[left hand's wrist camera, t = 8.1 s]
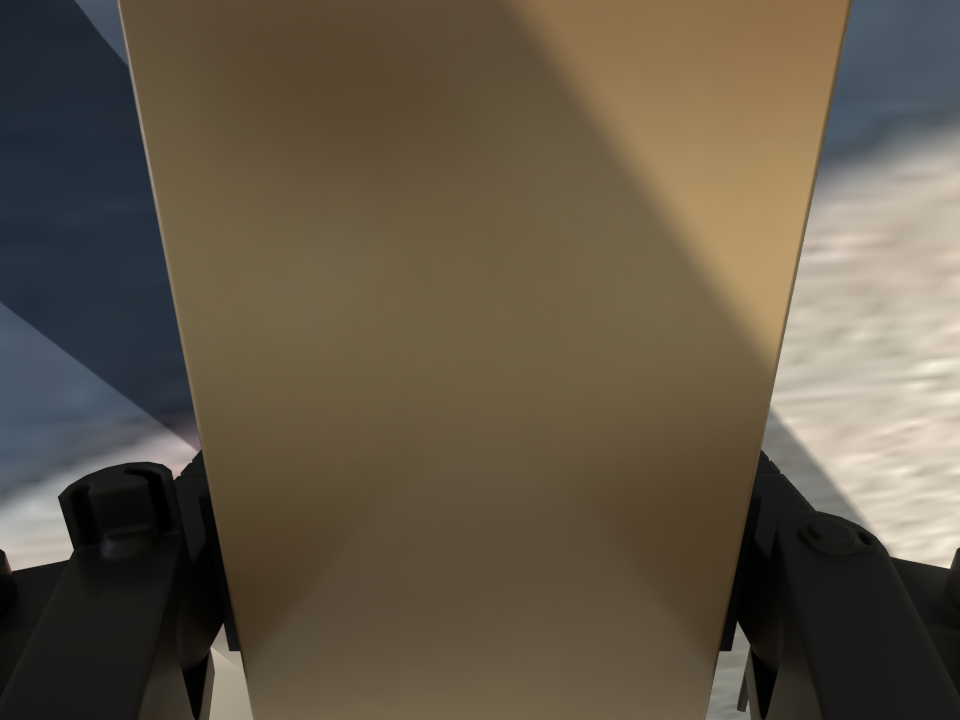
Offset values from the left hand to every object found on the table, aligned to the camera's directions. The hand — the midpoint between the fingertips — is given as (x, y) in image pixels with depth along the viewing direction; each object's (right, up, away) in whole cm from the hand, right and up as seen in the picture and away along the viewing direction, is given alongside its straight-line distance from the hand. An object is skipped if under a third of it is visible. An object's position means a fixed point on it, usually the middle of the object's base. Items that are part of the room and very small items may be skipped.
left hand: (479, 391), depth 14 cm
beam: (0, +14, -5) cm, 15 cm away
